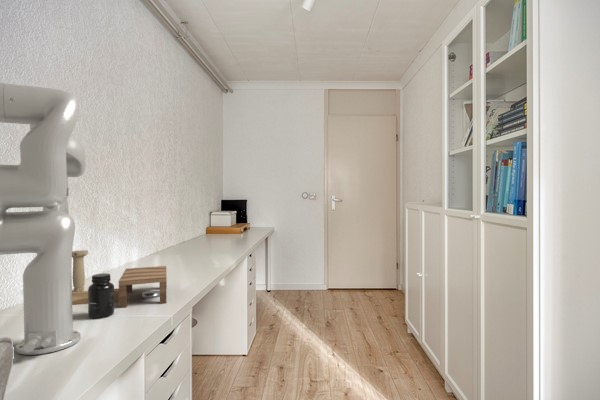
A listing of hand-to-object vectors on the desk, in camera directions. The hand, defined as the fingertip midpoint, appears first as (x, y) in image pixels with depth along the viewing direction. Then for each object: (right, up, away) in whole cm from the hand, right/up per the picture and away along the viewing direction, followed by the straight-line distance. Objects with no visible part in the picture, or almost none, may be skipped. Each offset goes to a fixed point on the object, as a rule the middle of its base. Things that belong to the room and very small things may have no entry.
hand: (56, 245), depth 120 cm
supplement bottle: (+21, -19, -12) cm, 31 cm away
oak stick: (+9, -20, +2) cm, 21 cm away
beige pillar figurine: (-3, -20, +18) cm, 27 cm away
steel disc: (+28, -19, +9) cm, 35 cm away
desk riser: (+26, -19, +8) cm, 33 cm away
